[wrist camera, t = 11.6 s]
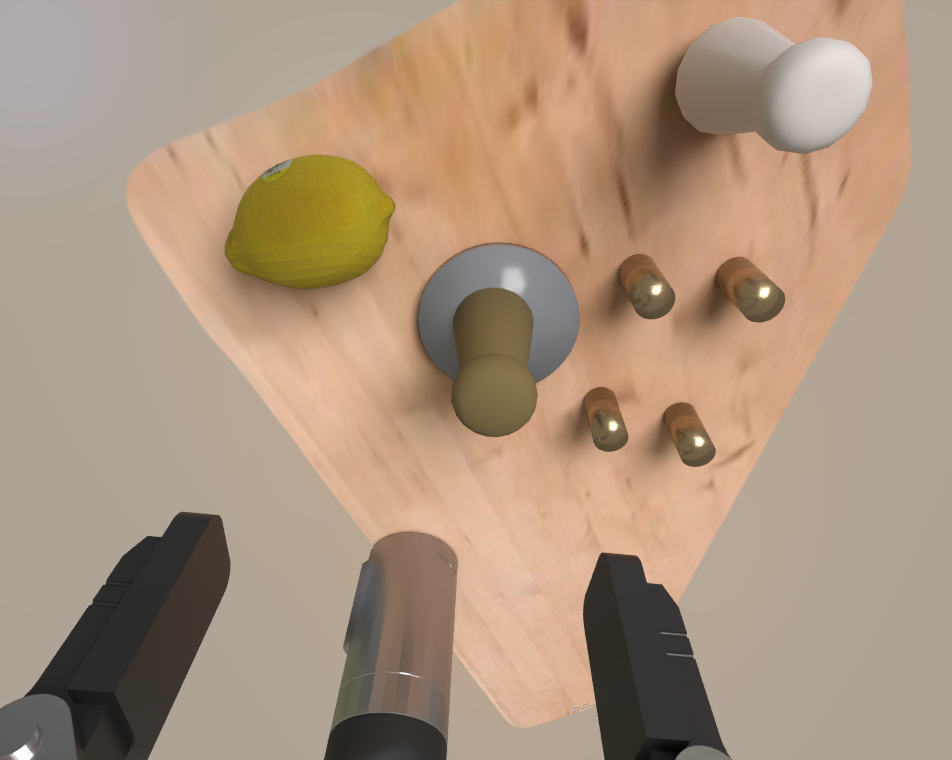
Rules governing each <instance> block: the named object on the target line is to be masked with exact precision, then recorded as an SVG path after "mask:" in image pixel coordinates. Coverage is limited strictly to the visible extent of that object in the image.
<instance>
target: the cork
mask: <svg viewBox="0 0 952 760" xmlns="http://www.w3.org/2000/svg"><path fill="white" fill-rule="evenodd" d="M533 324H534V320H533V315H532V311H531V309H530V308H529V306H528V304H527V303H526V301H525V300H524V299H523V298H521V297H520V296H519V295H517V294H516V293H515V292H512V291H509V290H507V289H504V288H492V287H489V288H485V289H481V290H477V291H475V292H473V293H472V294H470V295H468V296H467V297H465V299H464V300H463V301H462V302H461V303H460V304H459V305H458V307H457V310H456V312H455V315H454V319H453V330H454V336H455V343H456V349H457V355H458V361H459V368H460V370H459V372H458V374H457V376H456V378H455V380H454V383H453V386H452V404H453V407H454V410H455V413H456V416H457V417H458V418H459V420H460V421H461V422H462V423H463V425H465V426H466V427H467V428H469V429H470V430H472V431H473V432H475V433H477V434H480V435H484V436H489V437H500V436H505V435H509V434H511V433H513V432H515V431H517V430H519V429H520V428H521V427H522V426H524V425H525V424H526V423H527V422H528V421H529V420H530V418H531V416H532V414H533V413H534V411H535V408H536V402H537V389H536V385H535V381H534V378H533V376H532V375H531V373H530V372H529V370H528V363H529V355H530V348H531V340H532V332H533Z"/></svg>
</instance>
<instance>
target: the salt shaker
mask: <svg viewBox="0 0 952 760" xmlns="http://www.w3.org/2000/svg"><path fill="white" fill-rule="evenodd" d="M872 84H873V81H872V75H871V69H870V63H869V60H868V59H867V58H866V57H865V56H864V55H863V54H862V53H861V52H860V51H859V50H858V49H857V48H856V47H855V46H854V45H852V44H850V43H849V42H847V41H841V40H836V39H830V38H825V37H819V38H813V39H810V40H807V41H805V42H802V43H799V44H795V43H793V42H792V41H790V40H789V39H788V38H786V37H785V36H783V35H782V34H781V33H779V32H778V31H776V30H775V29H773V28H772V27H771V26H769V25H768V24H766V23H765V22H764V21H762V20H757V19H751V18H745V17H739V16H738V17H735V18H732V19H730V20H727V21H724V22H721V23H718V24H716V25H713V26H710V27H709V28H708V29H707V30H706V31H705V32H704V33H703V34H702V35H700V36H699V37H698V38H697V39H696V40H695V41H694V42H693V43H692V44H691V45H690V46H689V48H688V50H687V52H686V54H685V56H684V58H683V60H682V62H681V64H680V66H679V68H678V71H677V80H676V89H675V97H676V99H677V102H678V105H679V107H680V110H681V113H682V115H683V117H684V118H685V119H686V120H687V121H688V122H689V123H690V124H691V125H692V126H694V127H695V128H696V129H697V130H698V131H699V132H703V133H711V134H719V135H726V134H737V133H748V132H757V134H759V135H760V136H761V137H762V138H763V139H764V140H765V141H766V142H767V143H769V144H770V145H771V146H772V147H773V148H775V149H776V150H780V151H787V152H793V153H805V154H806V153H810V152H813V151H817V150H820V149H824V148H827V147H830V146H831V145H832V144H834V143H835V142H836V141H837V140H839V139H840V138H841V137H843V136H844V135H845V134H847V133H848V132H849V131H850V130H851V129H852V128H853V126H854V125H855V123H856V122H857V121H858V119H859V118H860V116H861V115H862V114H863V112H864V111H865V109H866V107H867V103H868V100H869V96H870V92H871V88H872Z"/></svg>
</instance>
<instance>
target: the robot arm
mask: <svg viewBox="0 0 952 760" xmlns="http://www.w3.org/2000/svg"><path fill="white" fill-rule="evenodd" d="M457 565H458V561H457V557H456V555H455V553H454V552H453V550H452V549H451V548H450V547H449V546H448V545H447V544H446V543H444V542H443V541H441V540H440V539H437V538H435V537H433V536H430V535H426V534H422V533H415V532H405V533H398V534H393V535H390V536H388V537H385V538H384V539H382V540H380V541H379V542H378V543H377V544H376V545H375V546H374V547H373V549H372V550H371V553H370V557H369V560H368V561H366V562H365V563H363V564H362V568H361V572H360V577H359V581H358V585H357V589H356V594H355V598H354V602H353V607H352V611H351V615H350V620H349V624H348V629H347V632H346V637H345V641H344V646H343V648H344V651H345V652H346V653H347V659H346V663H345V668H344V672H343V677H342V681H341V686H340V690H339V695H338V699H337V704H336V709H335V713H334V717H333V722H332V727H331V731H330V735H329V740H328V744H327V749H326V754H325V758H324V760H446V756H447V740H448V722H449V704H450V687H451V670H452V653H453V636H454V619H455V602H456V584H457ZM229 574H230V558H229V553H228V548H227V543H226V538H225V533H224V528H223V522H222V519H221V517H220V516H219V515H210V514H201V513H190V512H181V513H178V514H177V515H176V516H175V517H174V519H173V520H172V522H171V523H170V525H169V527H168V528H167V530H166V531H165V533H164V535H163V536H162V537H153V536H147V537H146V538H145V539H143V540H142V541H141V542H140V543H138V544H137V545H136V546H135V547H133V548H132V549H131V550H130V551H128V552H127V553H126V554H125V555H123V556H122V558H121V559H120V561H119V562H118V564H117V565H116V567H115V568H114V570H113V571H112V573H111V574H110V576H109V577H108V579H107V581H106V584H105V585H103V586H102V587H101V589H100V590H99V592H98V594H97V595H96V596H95V598H94V599H93V603H92V605H89V607H88V608H87V609H86V611H85V612H84V614H83V615H82V617H81V618H80V620H79V621H78V623H77V624H76V626H75V627H74V629H73V630H72V631H71V633H70V634H69V636H68V637H67V639H66V640H65V642H64V643H63V645H62V646H61V647H60V649H59V650H58V652H57V653H56V655H55V656H54V658H53V659H52V661H51V662H50V664H49V665H48V667H47V668H46V669H45V671H44V673H43V674H42V675H41V677H40V679H39V680H38V681H37V682H36V684H35V685H34V686H33V688H32V689H31V690H30V691H29V692H28V693H27V694H26V695H25V696H24V697H23V698H21V699H18V700H16V701H13V702H11V703H9V704H7V705H5V706H4V707H2V708H1V709H0V760H148V757H149V755H150V753H151V751H152V749H153V747H154V744H155V742H156V740H157V738H158V736H159V734H160V731H161V729H162V727H163V725H164V723H165V721H166V718H167V716H168V714H169V712H170V709H171V707H172V705H173V703H174V701H175V699H176V697H177V695H178V692H179V690H180V688H181V686H182V684H183V681H184V679H185V677H186V675H187V673H188V671H189V668H190V666H191V664H192V662H193V660H194V658H195V656H196V653H197V651H198V649H199V647H200V645H201V643H202V640H203V638H204V636H205V634H206V632H207V629H208V627H209V625H210V623H211V621H212V619H213V616H214V614H215V612H216V609H217V608H218V606H219V603H220V601H221V599H222V597H223V595H224V592H225V590H226V587H227V584H228V580H229ZM583 621H584V629H585V636H586V642H587V649H588V655H589V662H590V668H591V674H592V681H593V687H594V694H595V700H596V707H597V713H598V720H599V726H600V732H601V739H602V746H603V752H604V758H605V760H732V759H731V758H730V756H729V755H728V753H727V751H726V749H725V747H724V746H723V743H722V741H721V738H720V735H719V732H718V729H717V726H716V722H715V719H714V716H713V713H712V710H711V707H710V704H709V701H708V698H707V694H706V691H705V688H704V685H703V682H702V679H701V676H700V672H699V669H698V666H697V663H696V660H695V659H694V658H693V651H692V647H691V644H690V641H689V639H688V638H687V636H686V634H687V632H686V629H685V626H684V622H683V619H682V616H681V614H680V610H679V607H678V606H677V604H676V603H675V602H674V600H673V599H672V598H671V596H670V595H669V593H668V592H667V591H666V589H665V588H664V587H663V585H662V584H651V583H647V581H646V578H645V574H644V571H643V567H642V564H641V561H640V559H639V558H638V557H637V556H634V555H623V554H613V553H601V554H600V556H599V558H598V561H597V564H596V567H595V569H594V572H593V575H592V578H591V581H590V583H589V586H588V589H587V592H586V595H585V599H584V607H583Z"/></svg>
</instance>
